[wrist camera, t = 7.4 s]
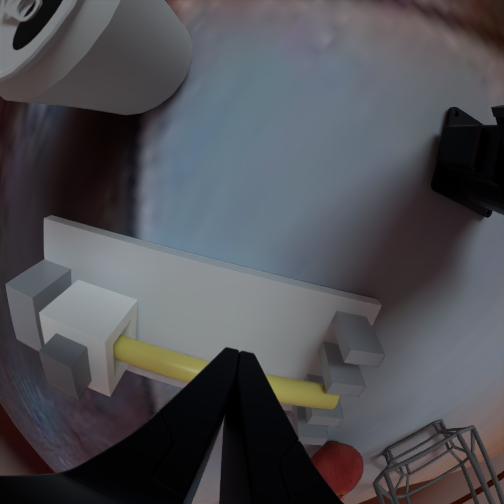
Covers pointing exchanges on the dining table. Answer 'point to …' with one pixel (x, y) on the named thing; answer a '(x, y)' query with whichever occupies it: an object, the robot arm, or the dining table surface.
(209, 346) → the linear slider
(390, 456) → the geometric lantern
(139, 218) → the dining table surface
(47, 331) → the sleeve
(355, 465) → the onion
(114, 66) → the can
